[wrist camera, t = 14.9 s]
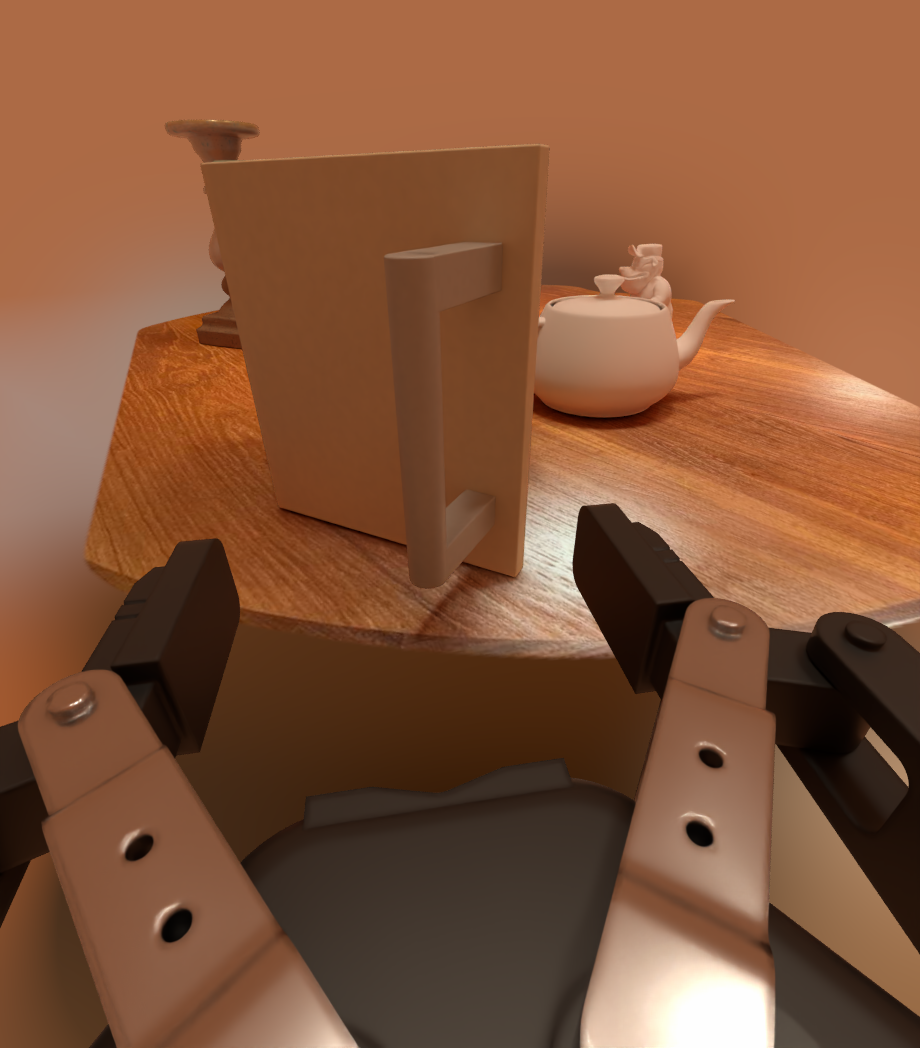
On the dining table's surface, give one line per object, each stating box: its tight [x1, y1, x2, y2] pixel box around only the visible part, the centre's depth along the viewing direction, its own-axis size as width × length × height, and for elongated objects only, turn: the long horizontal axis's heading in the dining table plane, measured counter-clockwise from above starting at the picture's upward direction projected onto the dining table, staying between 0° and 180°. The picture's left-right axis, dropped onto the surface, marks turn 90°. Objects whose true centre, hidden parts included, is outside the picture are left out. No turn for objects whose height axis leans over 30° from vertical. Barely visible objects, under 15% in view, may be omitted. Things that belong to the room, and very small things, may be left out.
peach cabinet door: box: [201, 144, 550, 589], centre depth 23 cm, size 7×16×18 cm, turn 63°
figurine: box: [619, 244, 673, 319], centre depth 58 cm, size 9×7×12 cm
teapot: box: [534, 275, 735, 417], centre depth 46 cm, size 22×14×11 cm, turn 97°
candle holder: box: [165, 120, 259, 349], centre depth 67 cm, size 11×11×24 cm
